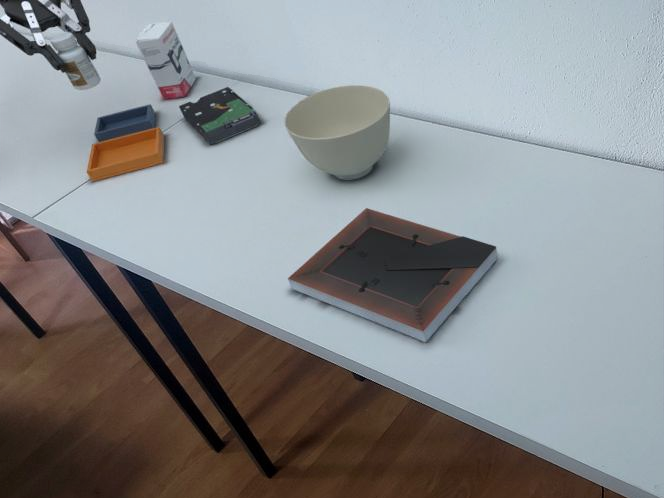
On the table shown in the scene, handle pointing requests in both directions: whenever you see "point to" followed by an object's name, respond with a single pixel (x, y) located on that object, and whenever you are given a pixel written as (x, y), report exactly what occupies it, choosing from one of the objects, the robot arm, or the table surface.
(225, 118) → the disk drive
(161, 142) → the orange tray
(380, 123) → the bowl
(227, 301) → the table surface
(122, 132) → the slate tray
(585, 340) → the table surface
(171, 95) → the ink box
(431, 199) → the table surface
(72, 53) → the pill bottle
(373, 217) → the picture frame
